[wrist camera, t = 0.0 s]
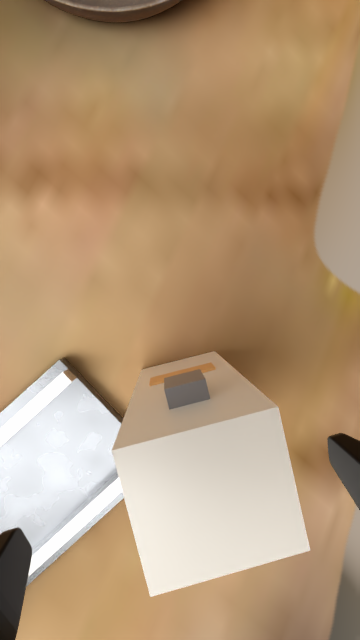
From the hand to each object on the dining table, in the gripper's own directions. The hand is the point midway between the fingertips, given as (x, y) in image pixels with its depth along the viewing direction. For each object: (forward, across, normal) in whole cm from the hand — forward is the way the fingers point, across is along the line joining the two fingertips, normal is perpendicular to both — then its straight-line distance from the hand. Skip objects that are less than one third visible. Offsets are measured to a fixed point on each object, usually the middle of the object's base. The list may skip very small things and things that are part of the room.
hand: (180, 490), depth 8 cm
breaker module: (+14, -1, +6) cm, 16 cm away
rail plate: (+13, +14, +10) cm, 22 cm away
